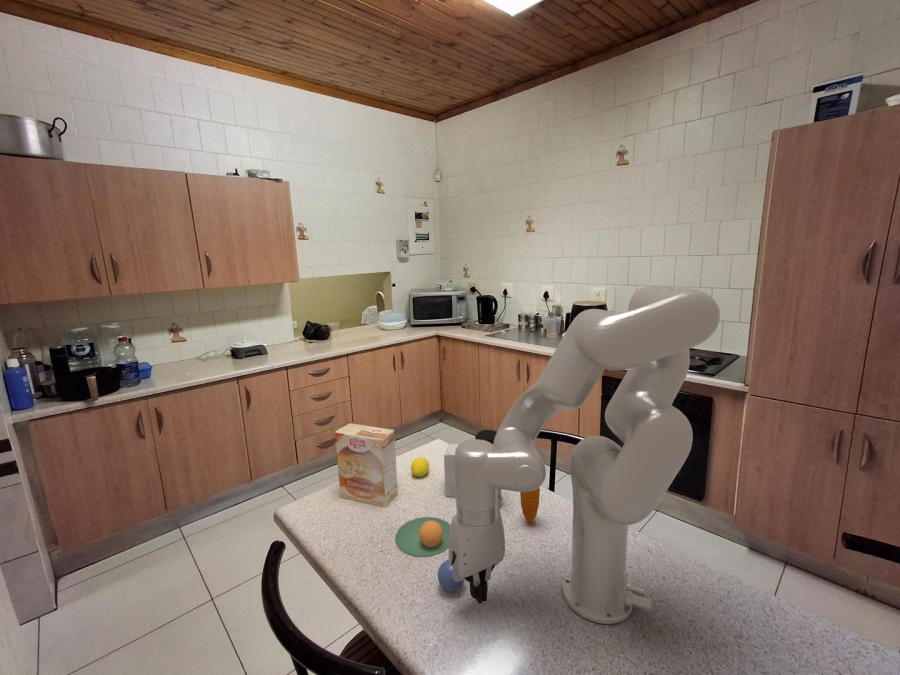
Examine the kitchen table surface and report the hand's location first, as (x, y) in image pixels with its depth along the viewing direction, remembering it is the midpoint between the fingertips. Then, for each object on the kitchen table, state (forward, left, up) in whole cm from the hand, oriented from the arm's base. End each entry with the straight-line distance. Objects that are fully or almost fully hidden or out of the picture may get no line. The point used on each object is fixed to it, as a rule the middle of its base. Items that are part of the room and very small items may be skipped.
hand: (478, 597), depth 77 cm
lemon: (+35, -36, -2) cm, 51 cm away
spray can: (+10, -30, -2) cm, 32 cm away
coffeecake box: (+42, -20, -2) cm, 47 cm away
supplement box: (+20, -33, -2) cm, 39 cm away
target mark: (+19, -12, -2) cm, 23 cm away
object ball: (+17, -10, +1) cm, 20 cm away
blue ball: (+6, -1, +1) cm, 7 cm away
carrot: (-2, -27, -2) cm, 28 cm away
